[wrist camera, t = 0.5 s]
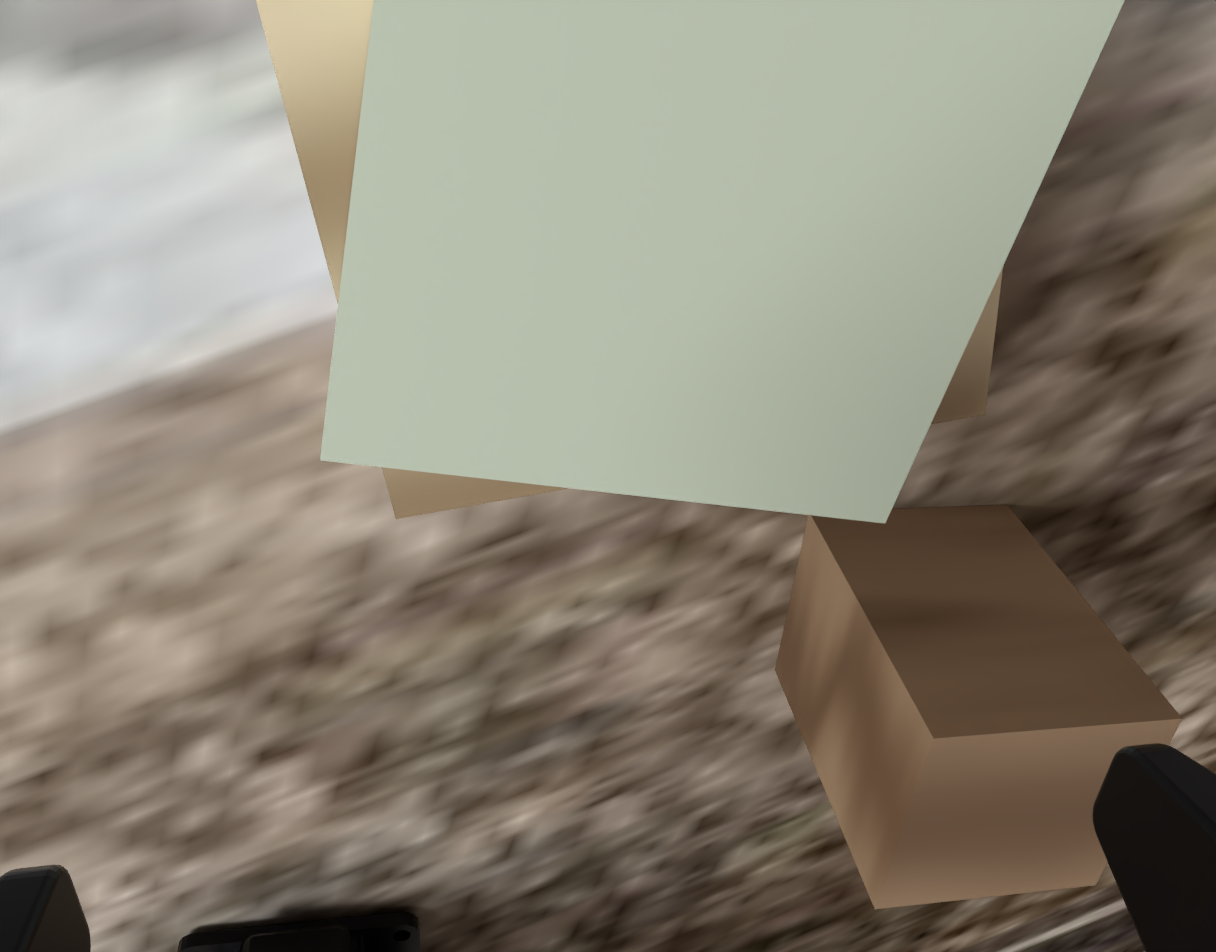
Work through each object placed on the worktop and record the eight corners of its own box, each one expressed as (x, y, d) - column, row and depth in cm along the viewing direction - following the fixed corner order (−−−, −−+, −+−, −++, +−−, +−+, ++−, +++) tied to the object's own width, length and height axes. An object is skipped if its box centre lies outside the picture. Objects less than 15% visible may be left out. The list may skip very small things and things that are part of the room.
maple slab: (934, 357, 24) (985, 414, 22) (395, 450, 23) (395, 518, 21) (991, -310, 17) (1073, -319, 15) (224, -216, 16) (199, -211, 14)
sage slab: (838, 450, 21) (885, 523, 19) (328, 384, 19) (319, 460, 17) (1064, -97, 16) (1159, -76, 14) (407, -293, 14) (409, -301, 12)
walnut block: (953, 657, 28) (1095, 885, 23) (774, 669, 28) (874, 909, 22) (1006, 503, 26) (1182, 718, 20) (809, 511, 25) (933, 738, 19)
